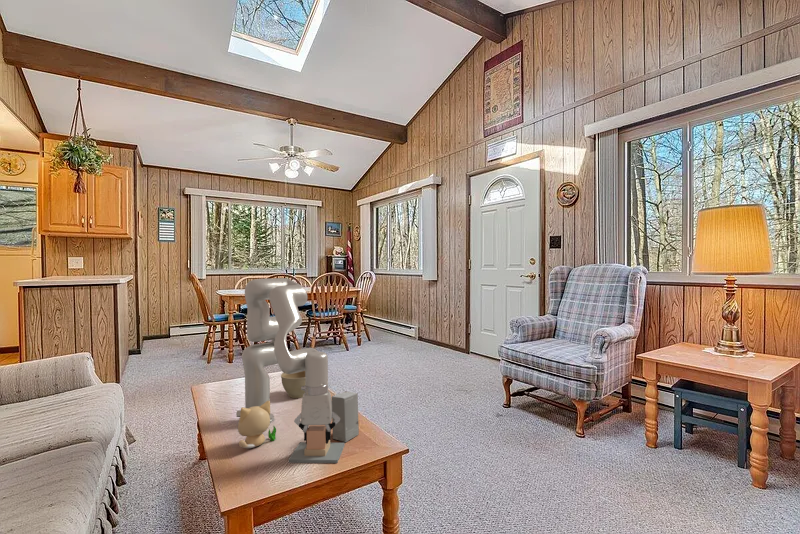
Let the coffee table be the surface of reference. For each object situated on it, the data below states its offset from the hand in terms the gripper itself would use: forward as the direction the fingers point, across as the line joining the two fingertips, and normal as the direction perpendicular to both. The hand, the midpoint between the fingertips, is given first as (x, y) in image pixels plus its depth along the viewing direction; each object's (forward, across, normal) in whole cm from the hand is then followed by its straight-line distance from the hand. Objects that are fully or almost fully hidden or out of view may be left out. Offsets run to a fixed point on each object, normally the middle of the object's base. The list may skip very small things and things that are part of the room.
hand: (317, 441), depth 128 cm
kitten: (+4, -23, +8) cm, 25 cm away
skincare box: (+4, +8, +12) cm, 15 cm away
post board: (+4, 0, 0) cm, 4 cm away
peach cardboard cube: (+1, 0, 0) cm, 1 cm away
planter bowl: (+4, -20, +60) cm, 63 cm away
